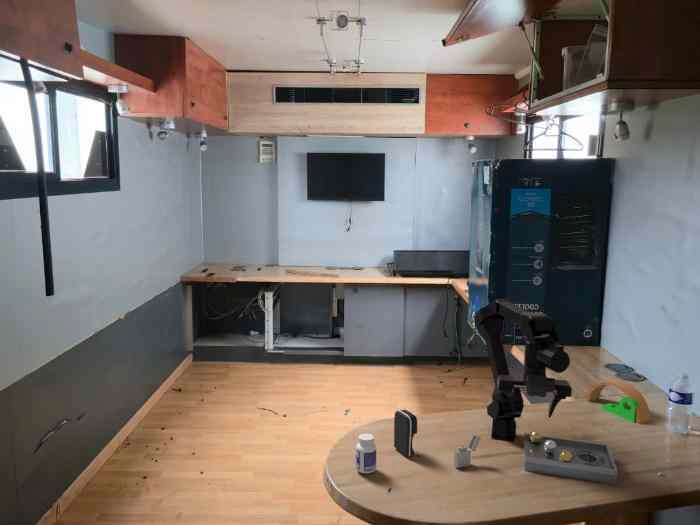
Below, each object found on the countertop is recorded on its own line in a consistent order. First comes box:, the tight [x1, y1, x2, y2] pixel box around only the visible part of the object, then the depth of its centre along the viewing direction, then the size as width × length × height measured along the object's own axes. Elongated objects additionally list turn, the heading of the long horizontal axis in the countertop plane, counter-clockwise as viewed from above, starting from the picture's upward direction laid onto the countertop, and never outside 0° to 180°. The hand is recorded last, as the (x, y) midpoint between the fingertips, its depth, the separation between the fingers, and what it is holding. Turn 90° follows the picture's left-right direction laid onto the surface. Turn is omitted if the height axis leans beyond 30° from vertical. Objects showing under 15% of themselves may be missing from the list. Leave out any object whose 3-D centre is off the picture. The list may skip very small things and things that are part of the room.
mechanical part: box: [600, 396, 639, 423], centre depth 176 cm, size 12×6×8 cm, turn 27°
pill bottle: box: [355, 433, 377, 474], centre depth 139 cm, size 5×5×9 cm
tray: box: [523, 432, 619, 486], centre depth 143 cm, size 22×15×4 cm
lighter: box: [453, 433, 482, 469], centre depth 142 cm, size 7×2×8 cm, turn 111°
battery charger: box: [393, 409, 418, 457], centre depth 149 cm, size 7×4×11 cm, turn 30°
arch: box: [585, 379, 651, 425], centre depth 178 cm, size 6×20×10 cm, turn 26°
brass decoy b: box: [559, 450, 573, 463], centre depth 139 cm, size 3×3×3 cm
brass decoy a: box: [529, 430, 543, 443], centre depth 150 cm, size 3×3×3 cm
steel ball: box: [544, 440, 557, 453], centre depth 144 cm, size 3×3×3 cm
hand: (531, 415), depth 146 cm, fingers open, 9 cm apart
